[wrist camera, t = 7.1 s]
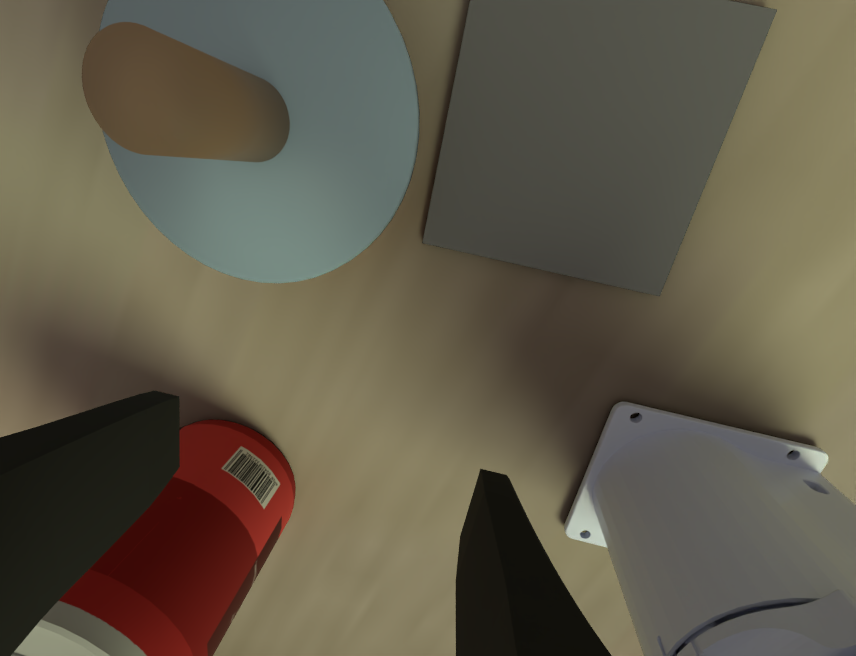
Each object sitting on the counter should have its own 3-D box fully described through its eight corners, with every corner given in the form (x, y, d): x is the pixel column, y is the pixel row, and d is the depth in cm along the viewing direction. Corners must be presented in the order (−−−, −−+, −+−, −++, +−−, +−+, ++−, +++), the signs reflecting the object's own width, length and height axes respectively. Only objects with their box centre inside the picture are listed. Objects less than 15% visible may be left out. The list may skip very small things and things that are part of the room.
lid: (454, -39, 13) (435, -194, 7) (386, 309, 16) (341, 371, 11) (101, -115, 13) (-157, -313, 8) (115, 242, 17) (-51, 271, 12)
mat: (769, 14, 14) (777, 9, 14) (655, 293, 18) (659, 296, 18) (479, -42, 15) (479, -48, 14) (423, 241, 18) (422, 243, 18)
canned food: (162, 400, 23) (-102, 583, 13) (306, 432, 22) (156, 650, 12) (167, 511, 25) (-47, 738, 15) (296, 542, 25) (166, 797, 15)
